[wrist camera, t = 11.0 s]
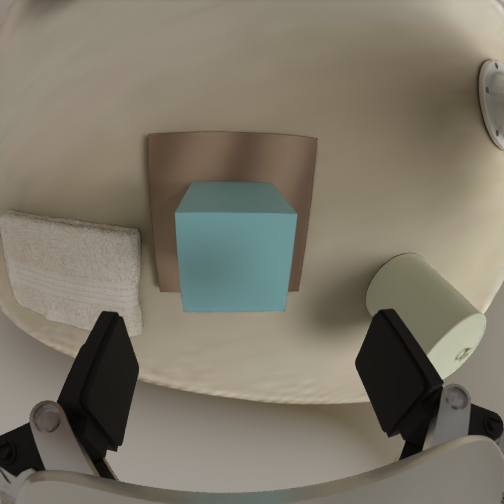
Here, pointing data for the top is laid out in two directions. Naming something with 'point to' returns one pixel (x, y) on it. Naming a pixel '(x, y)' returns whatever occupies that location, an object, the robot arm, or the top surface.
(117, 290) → the washcloth
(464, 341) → the can
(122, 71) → the top surface
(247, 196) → the teal block
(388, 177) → the top surface
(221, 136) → the post board
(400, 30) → the top surface
